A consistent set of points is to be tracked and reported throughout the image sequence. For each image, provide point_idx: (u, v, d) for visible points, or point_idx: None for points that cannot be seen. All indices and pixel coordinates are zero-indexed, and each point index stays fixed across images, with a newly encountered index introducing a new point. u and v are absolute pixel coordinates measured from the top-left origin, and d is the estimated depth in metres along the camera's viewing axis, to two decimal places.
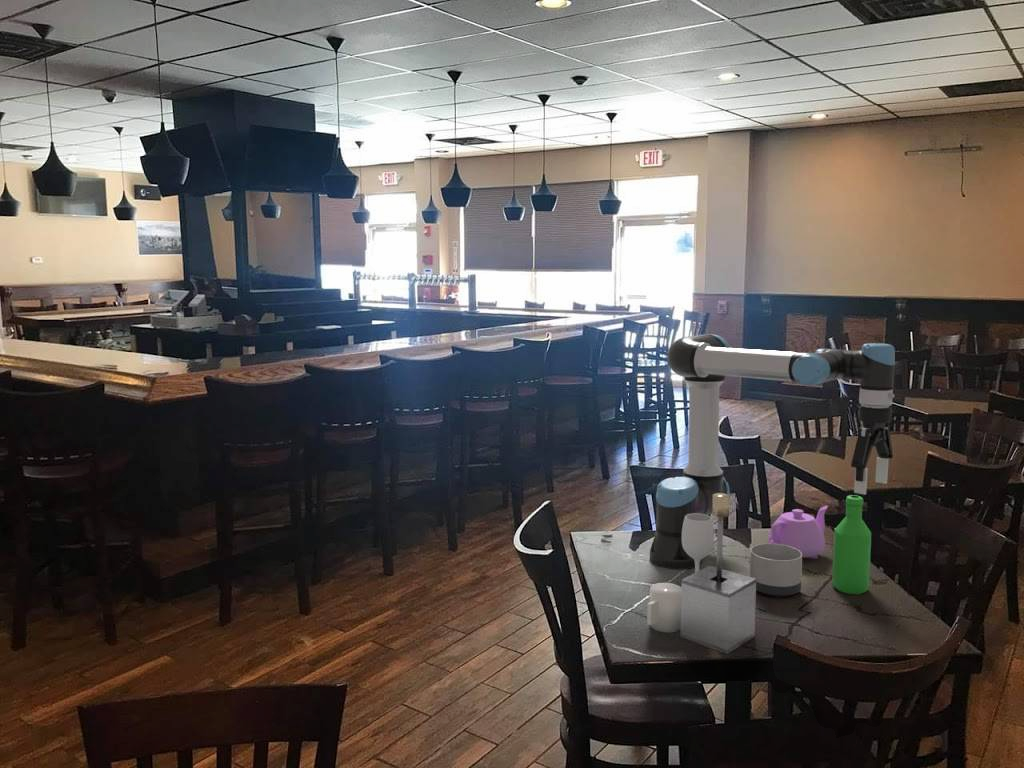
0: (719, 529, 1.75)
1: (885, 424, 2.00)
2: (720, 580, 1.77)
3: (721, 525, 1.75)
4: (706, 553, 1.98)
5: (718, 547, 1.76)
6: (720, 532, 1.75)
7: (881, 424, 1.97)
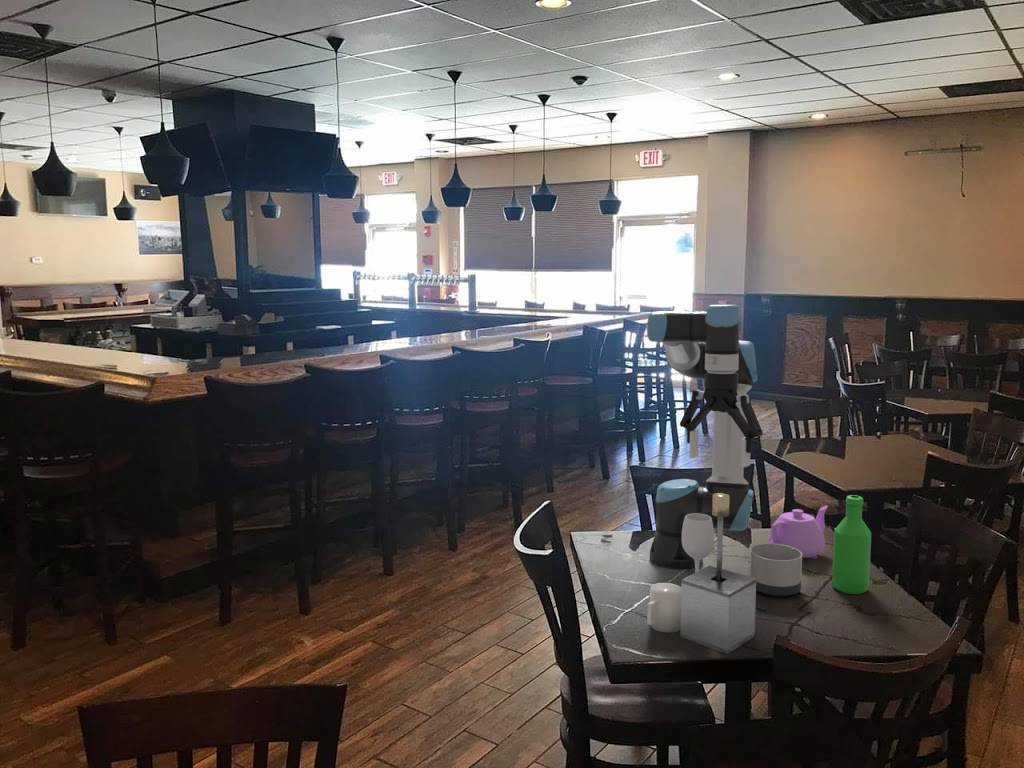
0: (719, 529, 1.75)
1: None
2: (720, 580, 1.77)
3: (721, 525, 1.75)
4: (706, 553, 1.98)
5: (718, 547, 1.76)
6: (720, 532, 1.75)
7: (724, 394, 1.79)
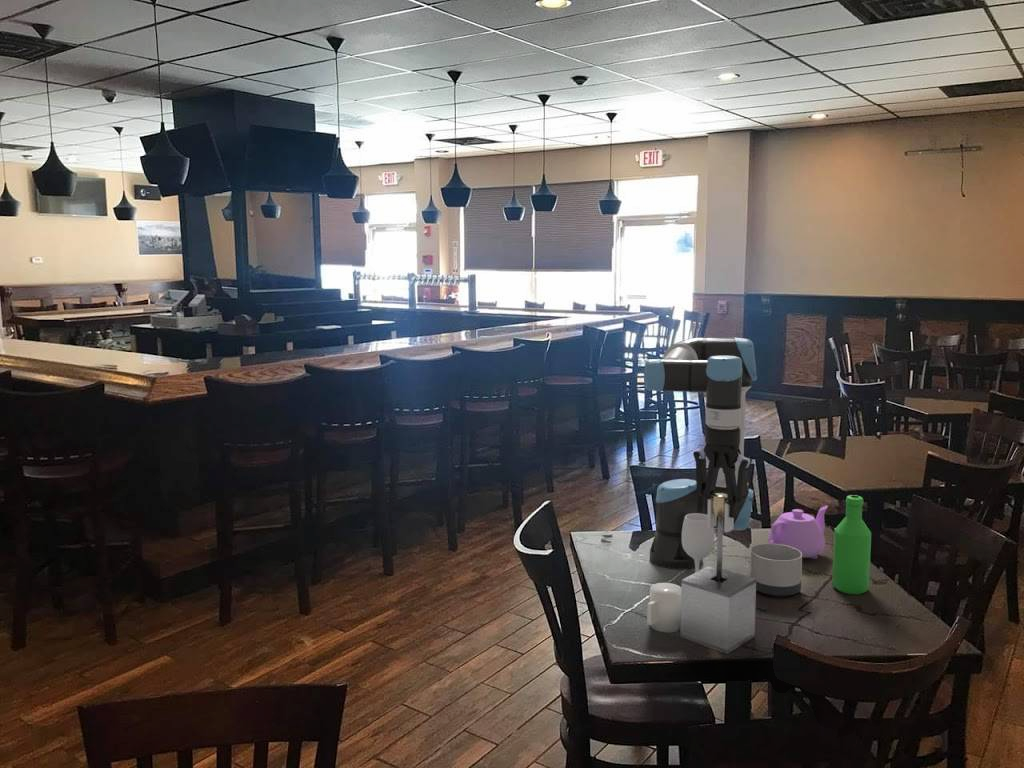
0: (719, 529, 1.75)
1: None
2: (720, 580, 1.77)
3: (721, 525, 1.75)
4: (706, 553, 1.98)
5: (718, 547, 1.76)
6: (720, 532, 1.75)
7: (729, 447, 1.71)
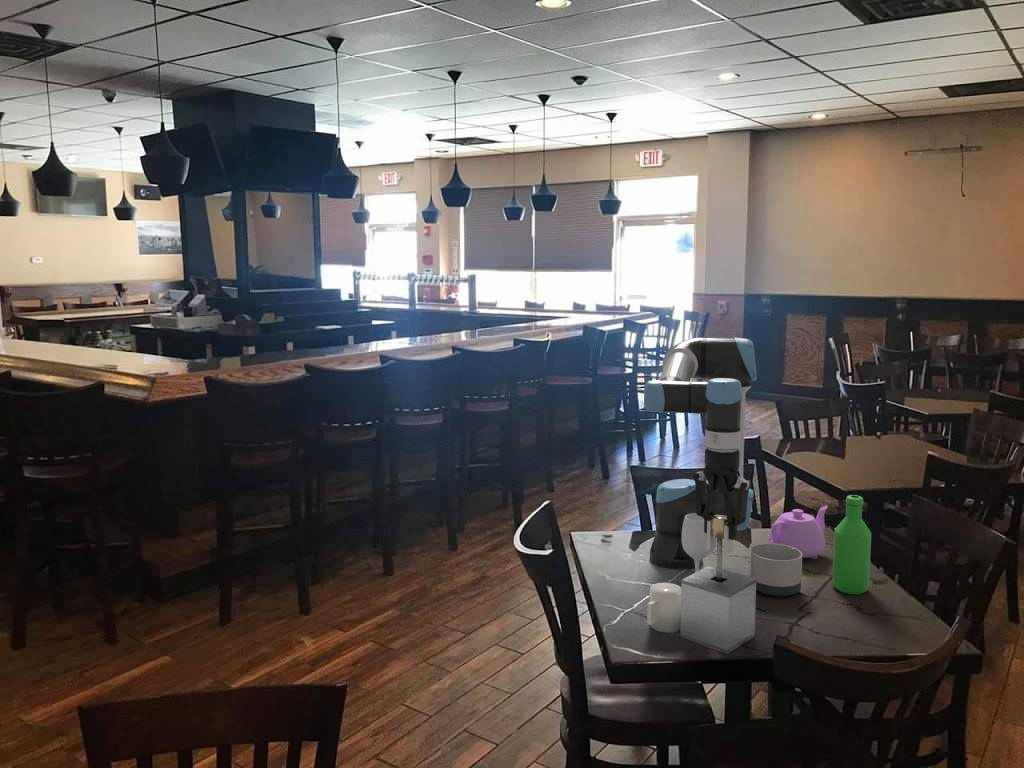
0: (718, 551, 1.76)
1: None
2: None
3: (720, 547, 1.76)
4: (706, 553, 1.98)
5: (717, 568, 1.77)
6: (719, 554, 1.76)
7: (728, 470, 1.71)
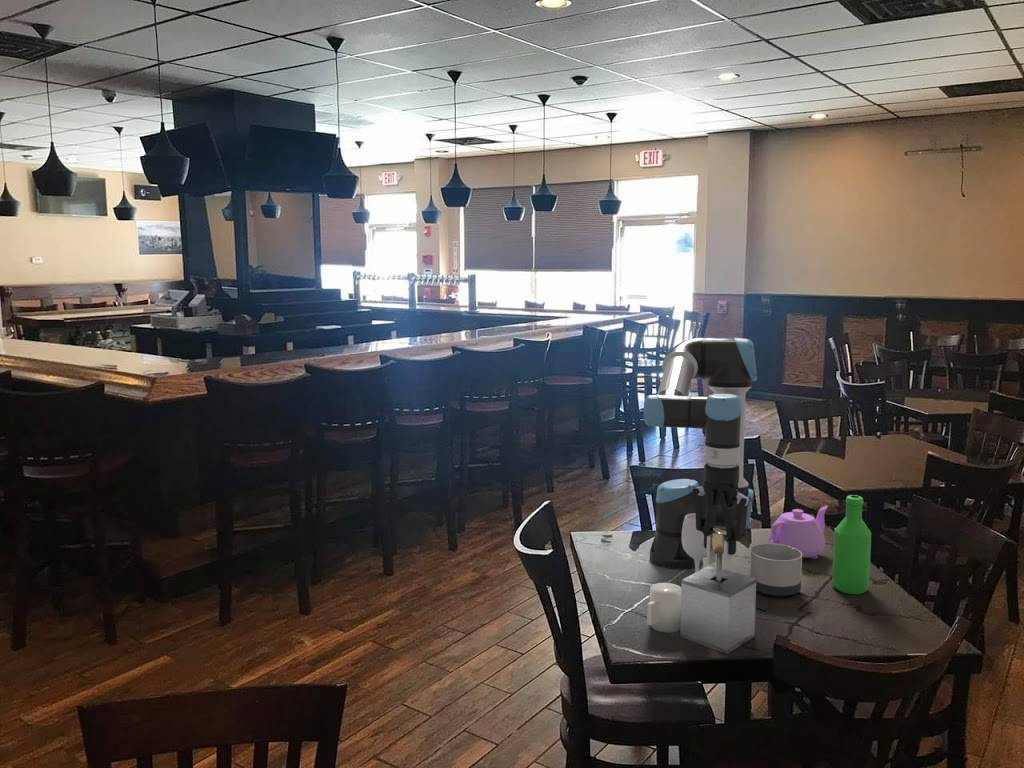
0: (718, 566, 1.76)
1: (741, 499, 1.70)
2: None
3: (720, 562, 1.76)
4: (706, 553, 1.98)
5: None
6: (719, 569, 1.76)
7: (728, 485, 1.72)
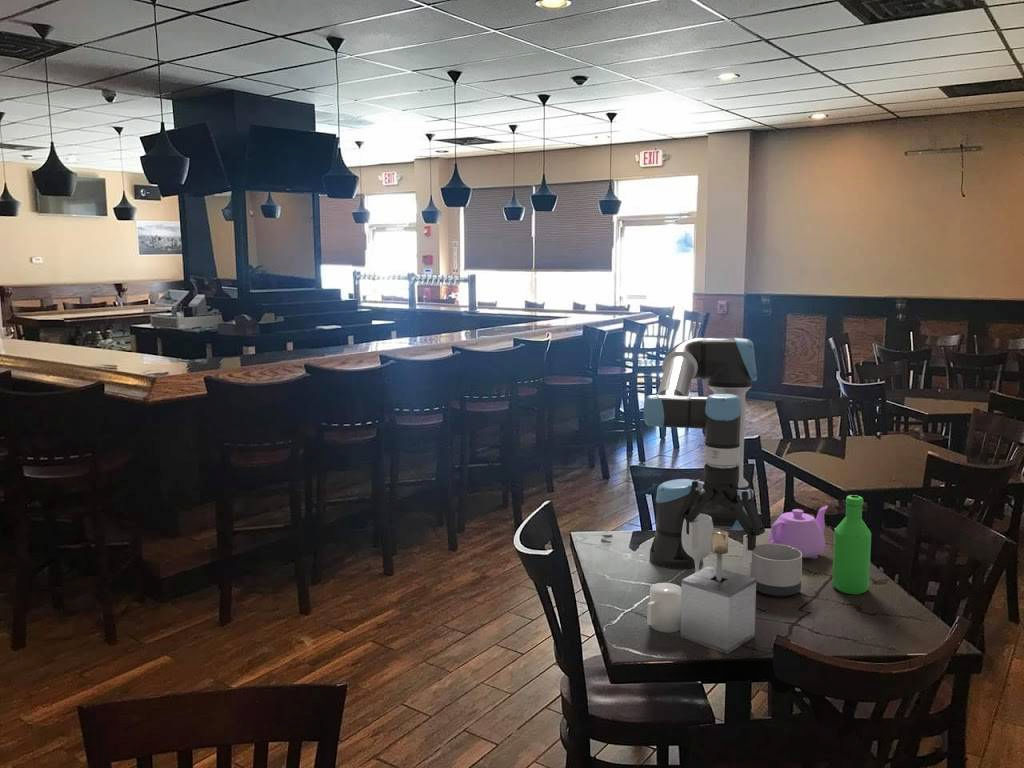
0: (718, 566, 1.76)
1: None
2: None
3: (720, 562, 1.76)
4: (706, 553, 1.98)
5: None
6: (719, 569, 1.76)
7: (725, 488, 1.72)
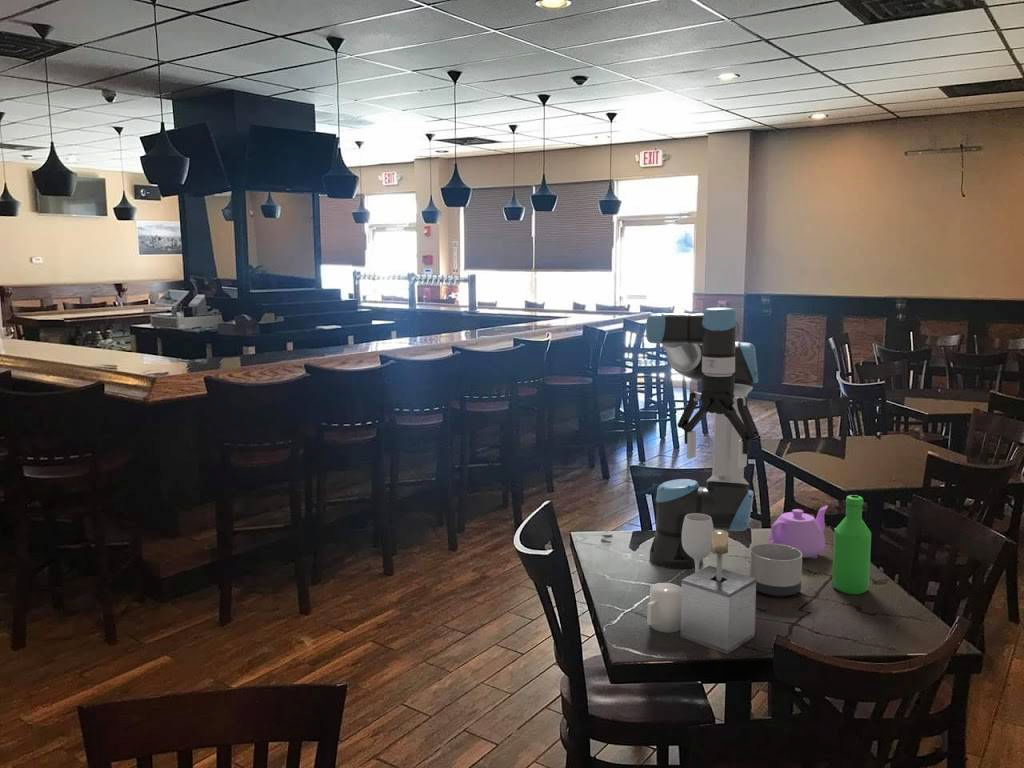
0: (718, 566, 1.76)
1: None
2: None
3: (720, 562, 1.76)
4: (706, 553, 1.98)
5: None
6: (719, 569, 1.76)
7: (721, 396, 1.82)
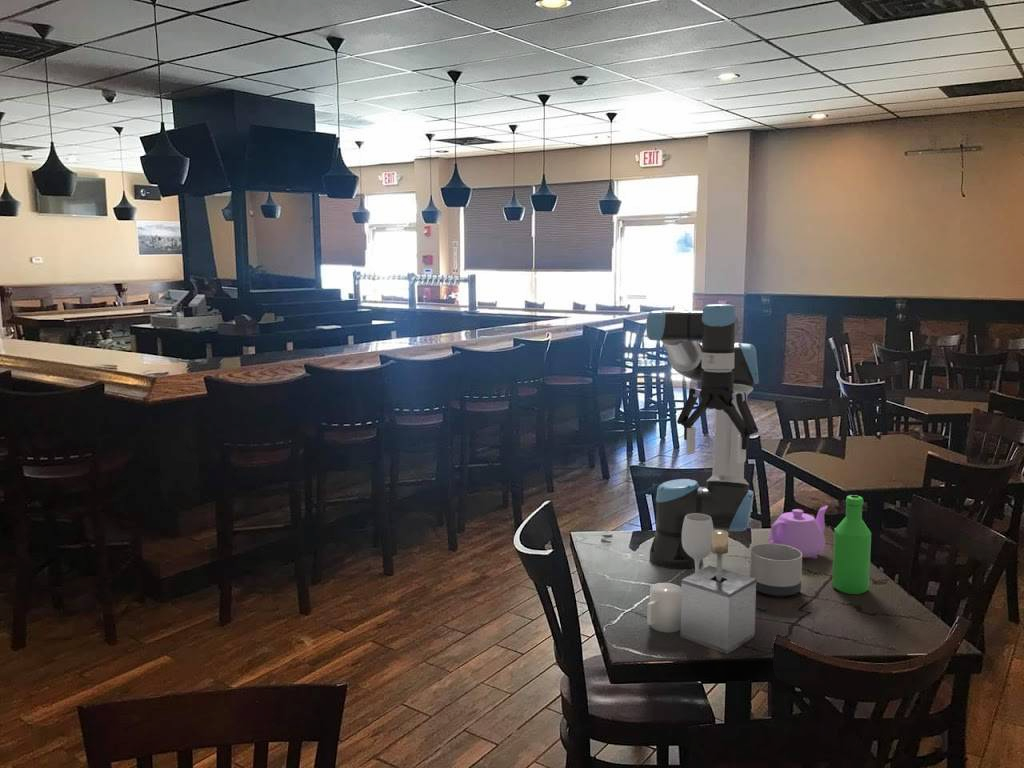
0: (718, 566, 1.76)
1: None
2: None
3: (720, 562, 1.76)
4: (706, 553, 1.98)
5: None
6: (719, 569, 1.76)
7: (720, 391, 1.83)
